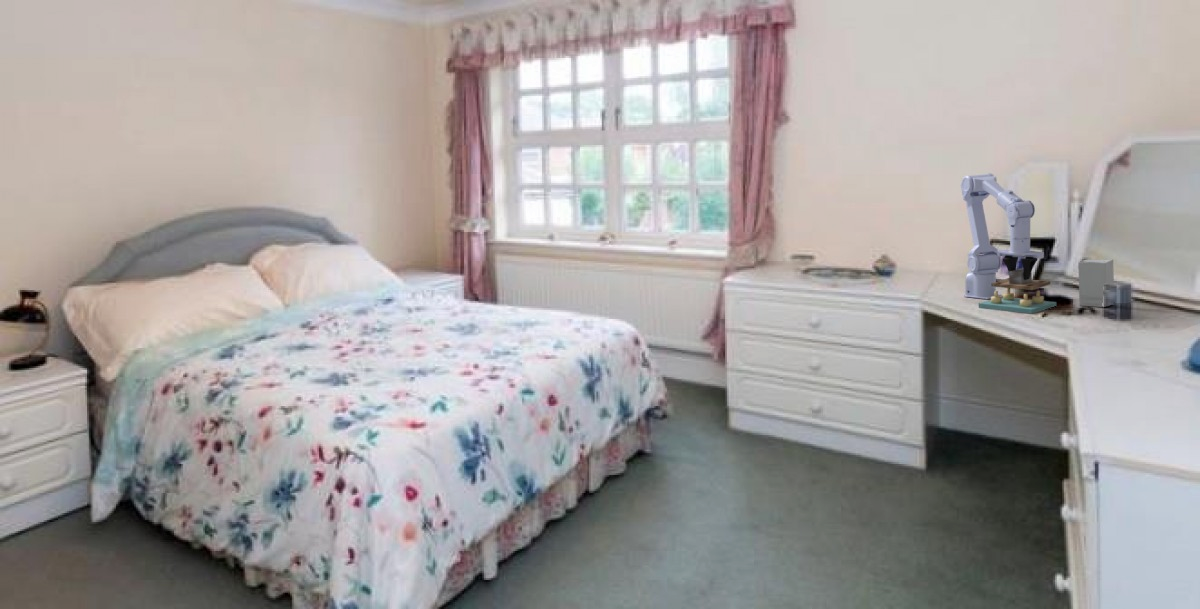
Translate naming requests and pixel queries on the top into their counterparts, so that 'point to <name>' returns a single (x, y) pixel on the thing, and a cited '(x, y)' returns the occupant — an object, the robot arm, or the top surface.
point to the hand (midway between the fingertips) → (1019, 278)
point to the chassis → (1017, 303)
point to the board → (1024, 286)
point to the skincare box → (1094, 281)
